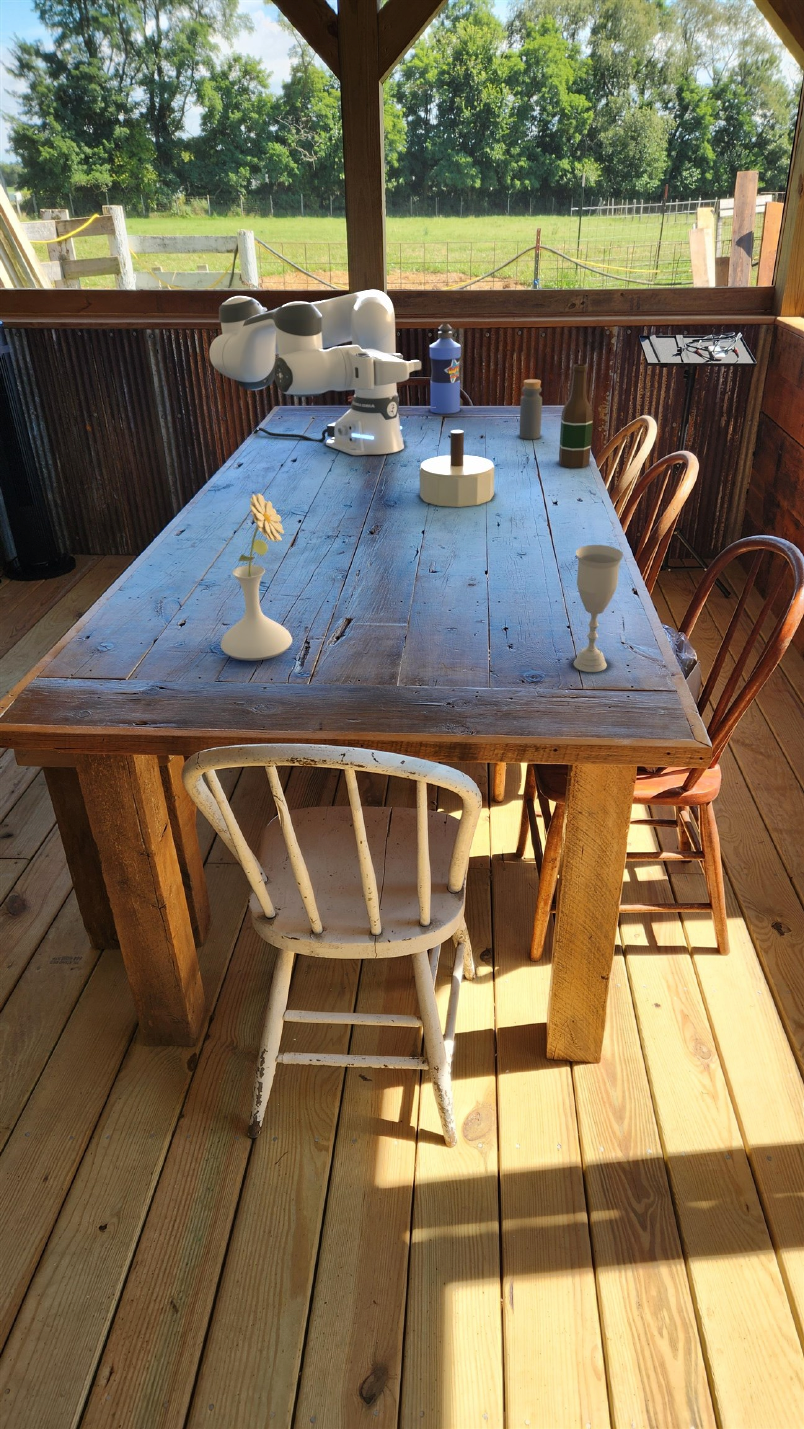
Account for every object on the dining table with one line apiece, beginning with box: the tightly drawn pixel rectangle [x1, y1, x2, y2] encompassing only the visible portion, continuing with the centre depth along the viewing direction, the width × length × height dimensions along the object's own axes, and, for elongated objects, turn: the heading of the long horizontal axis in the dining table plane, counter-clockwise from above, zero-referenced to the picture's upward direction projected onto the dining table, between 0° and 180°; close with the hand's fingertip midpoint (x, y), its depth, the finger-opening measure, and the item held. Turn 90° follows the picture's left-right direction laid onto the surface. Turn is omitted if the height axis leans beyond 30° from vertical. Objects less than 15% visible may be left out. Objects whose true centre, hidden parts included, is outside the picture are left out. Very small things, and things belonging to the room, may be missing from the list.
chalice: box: [573, 544, 625, 673], centre depth 143 cm, size 7×7×18 cm
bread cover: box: [419, 429, 495, 508], centre depth 219 cm, size 17×17×15 cm
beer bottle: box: [558, 363, 594, 469], centre depth 237 cm, size 8×8×24 cm
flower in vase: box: [220, 493, 293, 662], centre depth 149 cm, size 13×11×25 cm
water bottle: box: [429, 323, 462, 415], centre depth 291 cm, size 9×9×25 cm
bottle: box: [518, 378, 543, 440], centre depth 263 cm, size 6×6×15 cm
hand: (410, 360), depth 208 cm, fingers open, 8 cm apart
